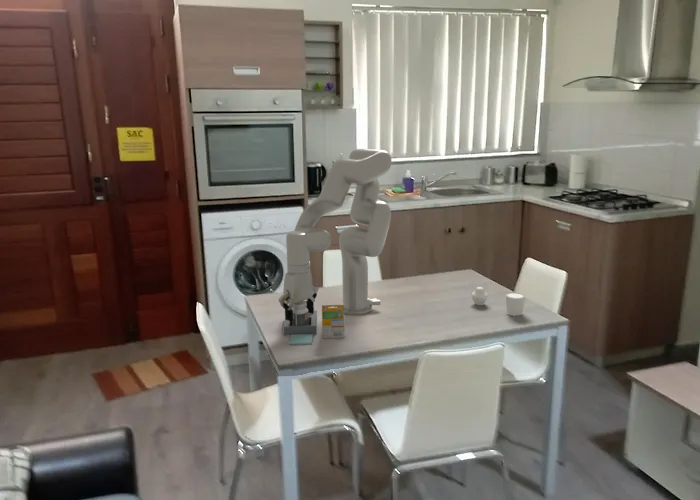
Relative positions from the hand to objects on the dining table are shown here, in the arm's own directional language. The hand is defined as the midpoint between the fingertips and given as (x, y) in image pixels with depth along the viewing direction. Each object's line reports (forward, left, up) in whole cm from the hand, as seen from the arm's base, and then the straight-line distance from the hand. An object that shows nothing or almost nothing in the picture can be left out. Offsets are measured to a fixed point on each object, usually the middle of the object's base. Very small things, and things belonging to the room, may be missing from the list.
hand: (299, 316), depth 191 cm
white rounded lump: (-68, -21, -5) cm, 71 cm away
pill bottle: (0, 0, -5) cm, 5 cm away
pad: (-1, +9, -5) cm, 10 cm away
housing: (0, -3, -5) cm, 6 cm away
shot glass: (-78, -10, -5) cm, 79 cm away
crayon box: (-11, +6, -5) cm, 14 cm away
